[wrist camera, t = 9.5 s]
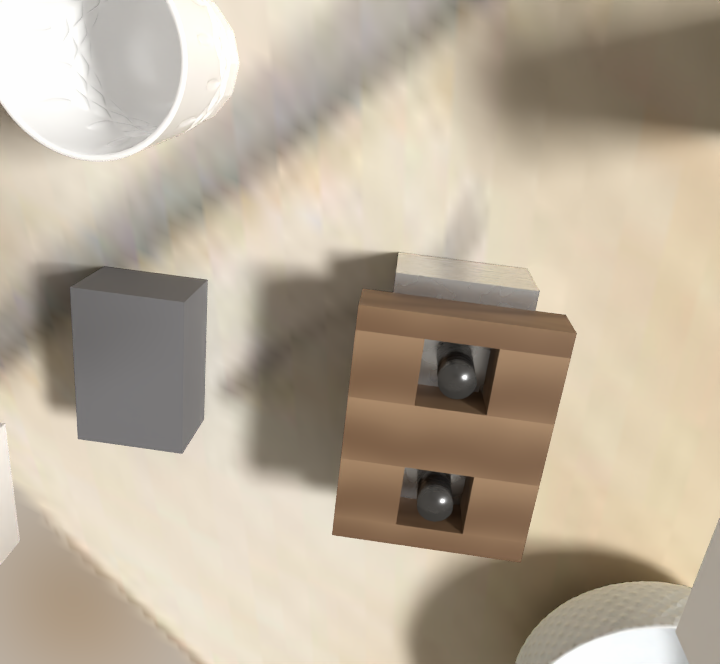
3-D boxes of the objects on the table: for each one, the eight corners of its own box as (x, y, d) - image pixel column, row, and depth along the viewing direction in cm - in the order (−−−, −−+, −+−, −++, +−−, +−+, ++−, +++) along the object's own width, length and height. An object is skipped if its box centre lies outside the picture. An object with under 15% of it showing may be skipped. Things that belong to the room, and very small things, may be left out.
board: (362, 288, 33) (358, 304, 31) (565, 315, 33) (576, 333, 30) (337, 506, 38) (332, 534, 36) (514, 532, 38) (520, 562, 35)
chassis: (398, 252, 36) (393, 290, 30) (527, 268, 36) (550, 311, 30) (367, 484, 42) (357, 560, 35) (479, 500, 42) (490, 579, 35)
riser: (104, 266, 38) (69, 287, 35) (207, 280, 38) (184, 302, 34) (108, 406, 42) (77, 438, 38) (203, 419, 41) (182, 453, 38)
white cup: (279, 27, 33) (223, 9, 24) (209, 167, 36) (135, 199, 26) (135, -65, 32) (18, -122, 23) (75, 86, 35) (-51, 90, 26)
